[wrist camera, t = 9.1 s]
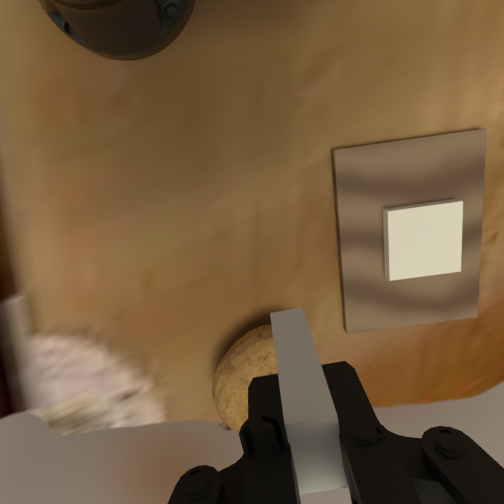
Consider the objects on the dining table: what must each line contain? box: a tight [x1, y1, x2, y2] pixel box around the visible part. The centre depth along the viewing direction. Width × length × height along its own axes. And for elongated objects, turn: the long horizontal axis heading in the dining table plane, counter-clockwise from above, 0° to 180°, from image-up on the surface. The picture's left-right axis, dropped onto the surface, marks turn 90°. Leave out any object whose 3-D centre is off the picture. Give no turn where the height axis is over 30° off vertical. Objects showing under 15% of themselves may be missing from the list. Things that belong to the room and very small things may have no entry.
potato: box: [212, 324, 278, 431], centre depth 43 cm, size 10×14×8 cm
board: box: [332, 129, 486, 334], centre depth 42 cm, size 22×16×1 cm
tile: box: [383, 199, 463, 281], centre depth 40 cm, size 8×2×8 cm
